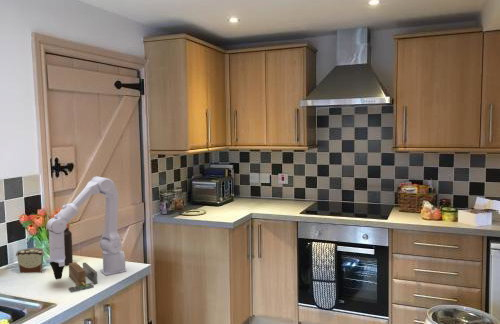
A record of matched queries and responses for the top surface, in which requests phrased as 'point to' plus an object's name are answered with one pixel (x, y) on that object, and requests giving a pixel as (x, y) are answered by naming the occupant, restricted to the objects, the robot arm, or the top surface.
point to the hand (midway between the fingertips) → (58, 278)
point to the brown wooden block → (77, 274)
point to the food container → (30, 260)
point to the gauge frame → (90, 274)
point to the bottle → (68, 245)
